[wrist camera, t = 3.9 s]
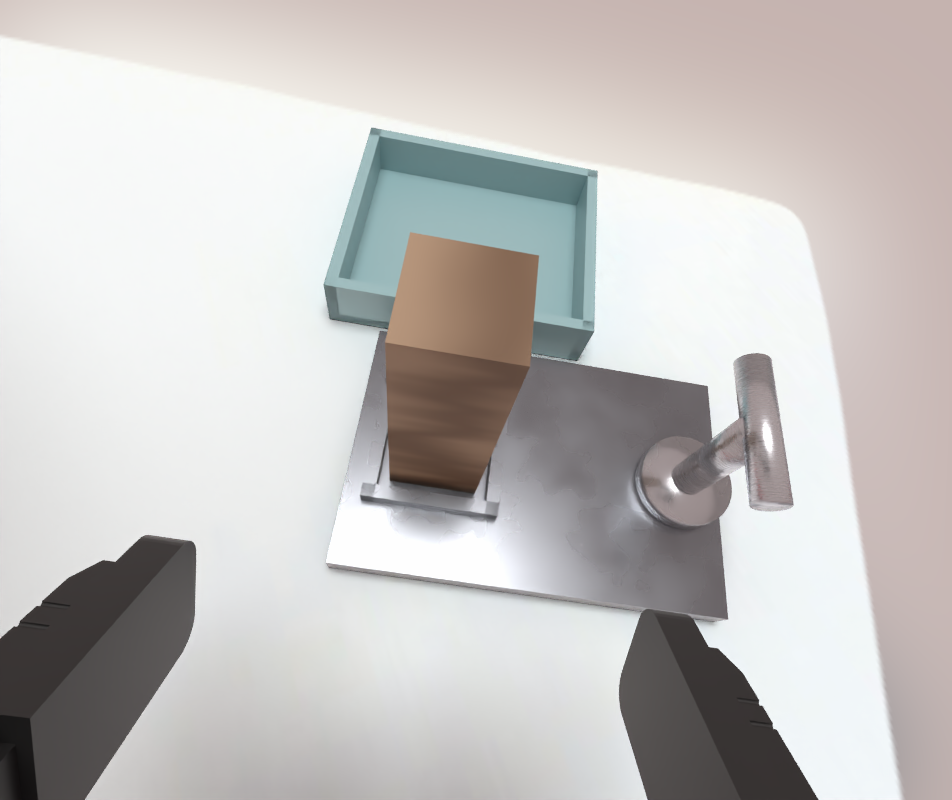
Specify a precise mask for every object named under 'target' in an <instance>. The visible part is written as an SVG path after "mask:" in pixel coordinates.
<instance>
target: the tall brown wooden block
mask: <svg viewBox="0 0 952 800" xmlns="http://www.w3.org/2000/svg"><path fill="white" fill-rule="evenodd" d="M538 263H539V255H534V254H528V253H523V252H517V251H511V250H506V249H500V248H495V247H489V246H484V245H478V244H473V243H467V242H462V241H456V240H451V239H445V238H440V237H434V236H429V235H423V234H417V233H412V232H410V235H409V239H408V244H407V248H406V252H405V257H404V261H403V266H402V270H401V274H400V279H399V283H398V288H397V292H396V296H395V301H394V305H393V310H392V314H391V319H390V323H389V327H388V332H387V336H386V341H385V355H386V385H387V416H388V446H389V476H390V481H395V482H401V483H408V484H414V485H421V486H427V487H434V488H441V489H447V490H454V491H460V492H467V493H474V494H475V492H476V490H477V487H478V485H479V483H480V480H481V478H482V476H483V474H484V471H485V469H486V467H487V464H488V462H489V460H490V457H491V455H492V453H493V451H494V448H495V446H496V444H497V441H498V439H499V437H500V434H501V432H502V430H503V428H504V425H505V423H506V421H507V418H508V416H509V414H510V412H511V409H512V407H513V405H514V402H515V400H516V398H517V395H518V393H519V391H520V389H521V386H522V384H523V382H524V379H525V377H526V375H527V372H528V370H529V368H530V361H531V349H532V336H533V324H534V312H535V300H536V287H537V275H538Z"/></svg>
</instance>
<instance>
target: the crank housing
mask: <svg viewBox="0 0 952 800" xmlns="http://www.w3.org/2000/svg"><path fill="white" fill-rule="evenodd" d="M386 336H387V332H384V331H380V333H379V338H378V342H377V346H376V350H375V355H374V359H373V363H372V368H371V372H370V376H369V380H368V385H367V389H366V393H365V397H364V402H363V406H362V410H361V414H360V419H359V423H358V427H357V431H356V436H355V440H354V444H353V449H352V453H351V457H350V461H349V466H348V470H347V474H346V478H345V483H344V487H343V491H342V495H341V500H340V504H339V508H338V513H337V517H336V521H335V525H334V530H333V534H332V538H331V542H330V547H329V551H328V555H327V559H326V564H327V565H328V567H330V568H337V569H345V570H352V571H359V572H366V573H373V574H380V575H387V576H394V577H401V578H408V579H416V580H423V581H430V582H437V583H444V584H451V585H458V586H465V587H472V588H479V589H486V590H494V591H501V592H508V593H515V594H522V595H529V596H536V597H543V598H550V599H557V600H565V601H572V602H579V603H586V604H593V605H600V606H607V607H614V608H621V609H628V610H635V611H644V610H645V609H654V610H661V611H668V612H675V613H682V614H688V615H689V616H691V617H692V619H699V620H706V621H714V622H715V621H721V620H727V619H728V613H727V602H726V591H725V579H724V568H723V556H722V545H721V534H720V522H719V517H720V516H721V515H722V514H723V513H724V512H725V510H726V509H727V507H728V505H729V503H730V499H731V493H732V487H731V480H730V477H729V474H731V473H732V472H734V471H736V470H737V469H739V468H741V467H742V466H744V465H745V471H746V480H747V488H748V497H749V506H750V507H751V508H752V509H755V510H759V511H781V510H786V509H789V508H791V507H793V498H792V491H791V485H790V478H789V472H788V465H787V459H786V452H785V445H784V439H783V432H782V426H781V419H780V413H779V406H778V399H777V393H776V386H775V380H774V373H773V367H772V360H771V358H770V357H769V356H767V355H765V354H759V353H755V354H747V355H744V356H741V357H739V358H738V359H736V360H735V361H734V363H733V366H734V375H735V384H736V392H737V401H738V410H739V419H738V420H737V421H735V422H734V423H733V424H731V425H730V426H729V427H727V428H726V429H724V430H723V431H722V432H720V433H719V434H718V435H716V436H715V437H714V438H712V431H711V420H710V408H709V397H708V386H704V385H698V384H692V383H686V382H680V381H674V380H668V379H662V378H656V377H650V376H644V375H638V374H633V373H627V372H621V371H615V370H609V369H603V368H597V367H591V366H585V365H579V364H573V363H567V362H561V361H556V360H550V359H544V358H538V357H532V356H531V361H530V368H529V370H528V372H527V375H526V377H525V379H524V382H523V384H522V386H521V389H520V391H519V393H518V395H517V398H516V400H515V402H514V405H513V407H512V409H511V412H510V414H509V416H508V418H507V421H506V423H505V425H504V428H503V430H502V432H501V434H500V437H499V439H498V441H497V444H496V446H495V448H494V451H493V453H492V455H491V457H490V460H489V462H488V464H487V467H486V469H485V471H484V474H483V476H482V478H481V480H480V483H479V485H478V487H477V490H476V492H475V494H474V493H467V492H460V491H454V490H447V489H441V488H434V487H427V486H421V485H414V484H408V483H401V482H395V481H390V476H389V446H388V416H387V385H386V355H385V341H386Z"/></svg>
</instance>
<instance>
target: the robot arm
mask: <svg viewBox="0 0 952 800" xmlns="http://www.w3.org/2000/svg"><path fill="white" fill-rule="evenodd" d="M195 580H196V548H195V544H194V543H193V542H192V541H186V540H179V539H173V538H166V537H159V536H152V535H145V536H143V537H141V538H140V539H139V540H138V541H137V542H136V543H135V544H134V545H133V546H132V547H131V548H129V549H128V550H127V551H126V552H125V553H124V554H123V555H122V556H121V557H120V558H119V559H118V560H117V561H116V562H112V561H105V560H103V561H101V562H99V563H97V564H95V565H93V566H91V567H89V568H87V569H85V570H83V571H81V572H79V573H77V574H75V575H73V576H71V577H69V578H68V579H67V580H65V581H64V582H63V583H62V584H61V585H60V586H59V587H58V588H56V589H55V590H54V591H53V592H52V593H51V594H50V595H49V596H48V597H46V598H45V599H44V600H43V601H42V604H41V606H36V607H35V608H34V609H33V610H32V611H31V612H30V613H28V614H27V615H26V616H25V617H24V618H23V619H22V620H21V621H20V623H19V625H18V627H13V628H12V629H11V630H9V631H8V632H7V633H6V634H5V635H4V636H3V637H2V638H0V800H85V798H86V797H87V795H88V794H89V792H90V791H91V789H92V788H93V786H94V785H95V783H96V782H97V780H98V779H99V777H100V776H101V774H102V773H103V771H104V769H105V768H106V766H107V765H108V763H109V762H110V760H111V759H112V757H113V756H114V754H115V753H116V751H117V750H118V748H119V747H120V745H121V744H122V742H123V741H124V739H125V738H126V736H127V735H128V733H129V732H130V730H131V729H132V727H133V726H134V724H135V723H136V721H137V720H138V718H139V717H140V715H141V714H142V712H143V711H144V709H145V708H146V706H147V705H148V703H149V702H150V700H151V699H152V697H153V696H154V694H155V693H156V691H157V690H158V688H159V687H160V685H161V684H162V682H163V681H164V679H165V678H166V676H167V675H168V673H169V672H170V670H171V669H172V667H173V666H174V664H175V663H176V661H177V660H178V658H179V657H180V655H181V654H182V652H183V650H184V648H185V646H186V644H187V642H188V639H189V637H190V634H191V630H192V627H193V622H194V616H195ZM619 701H620V708H621V713H622V717H623V720H624V723H625V726H626V730H627V733H628V736H629V740H630V743H631V746H632V749H633V753H634V756H635V759H636V763H637V766H638V769H639V772H640V776H641V779H642V782H643V786H644V789H645V792H646V796H647V799H648V800H818V798H817V797H816V795H815V793H814V792H813V790H812V788H811V787H810V785H809V783H808V782H807V780H806V778H805V777H804V775H803V773H802V772H801V770H800V768H799V766H798V765H797V763H796V761H795V760H794V758H793V756H792V755H791V753H790V751H789V750H788V748H787V746H786V745H785V743H784V741H783V740H782V738H781V736H780V735H779V733H778V731H777V730H776V729H773V723H772V721H771V720H770V718H769V716H768V715H767V713H766V711H765V710H764V708H763V706H759V699H758V698H757V696H756V694H755V693H754V691H753V689H752V688H751V686H750V684H749V683H748V681H747V679H746V678H745V676H744V674H743V673H742V672H741V671H740V670H739V669H738V668H737V667H736V666H735V665H734V664H733V663H732V662H731V661H730V660H729V659H728V658H727V657H726V656H725V655H724V654H723V653H722V652H721V651H720V650H719V649H717V648H710V647H708V645H707V643H706V642H705V640H704V638H703V636H702V634H701V633H700V631H699V629H698V627H697V625H696V624H695V622H694V620H693V619H692V617H691V616H689V615H688V614H682V613H675V612H668V611H661V610H654V609H645V610H644V611H643V612H642V614H641V616H640V618H639V621H638V624H637V627H636V630H635V633H634V636H633V639H632V643H631V646H630V649H629V652H628V655H627V658H626V661H625V664H624V667H623V670H622V673H621V678H620V685H619Z"/></svg>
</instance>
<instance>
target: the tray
mask: <svg viewBox="0 0 952 800" xmlns="http://www.w3.org/2000/svg"><path fill="white" fill-rule="evenodd" d="M596 216H597V171H595V170H590V169H585V168H579V167H574V166H569V165H564V164H559V163H553V162H548V161H543V160H538V159H532V158H527V157H522V156H517V155H512V154H506V153H501V152H496V151H491V150H486V149H480V148H475V147H470V146H465V145H460V144H454V143H449V142H444V141H439V140H434V139H428V138H423V137H418V136H413V135H407V134H402V133H397V132H392V131H387V130H381V129H376V128H371V131H370V134H369V137H368V141H367V144H366V147H365V151H364V154H363V157H362V160H361V164H360V167H359V170H358V174H357V177H356V180H355V183H354V187H353V190H352V193H351V196H350V200H349V203H348V206H347V210H346V213H345V216H344V219H343V223H342V226H341V229H340V233H339V236H338V239H337V242H336V246H335V249H334V252H333V255H332V259H331V262H330V265H329V269H328V272H327V275H326V278H325V282H324V289H325V295H326V300H327V306H328V311H329V316H330V319H334V320H340V321H346V322H352V323H358V324H364V325H370V326H376V327H382V328H387V329H388V327H389V323H390V319H391V314H392V310H393V305H394V301H395V296H396V292H397V288H398V283H399V279H400V274H401V270H402V266H403V261H404V257H405V252H406V248H407V244H408V239H409V235H410V232H412V233H417V234H423V235H429V236H434V237H440V238H445V239H451V240H456V241H462V242H467V243H473V244H478V245H484V246H489V247H495V248H500V249H506V250H511V251H517V252H523V253H528V254H534V255H539V263H538V275H537V287H536V300H535V312H534V324H533V336H532V349H531V353H535V354H541V355H547V356H553V357H559V358H565V359H571V360H576V361H577V360H578V358H579V357H580V355H581V353H582V352H583V350H584V348H585V346H586V345H587V343H588V341H589V339H590V338H591V336H592V334H593V333H594V313H595V264H596Z"/></svg>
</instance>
